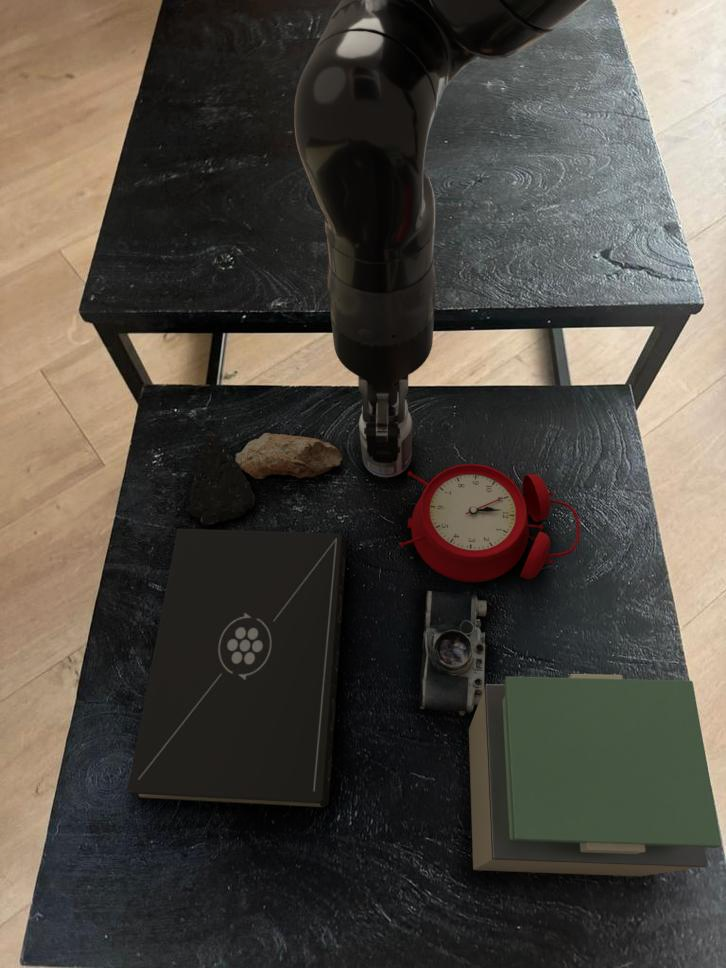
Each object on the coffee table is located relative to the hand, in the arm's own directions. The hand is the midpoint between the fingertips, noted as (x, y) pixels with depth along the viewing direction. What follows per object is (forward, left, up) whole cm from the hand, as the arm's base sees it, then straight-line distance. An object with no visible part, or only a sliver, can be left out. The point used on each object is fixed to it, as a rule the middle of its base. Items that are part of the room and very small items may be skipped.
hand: (385, 432), depth 69 cm
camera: (-6, +19, -5) cm, 20 cm away
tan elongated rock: (+9, 0, -4) cm, 10 cm away
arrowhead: (+15, +8, -4) cm, 17 cm away
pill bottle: (0, 0, -5) cm, 5 cm away
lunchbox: (-13, +30, +9) cm, 34 cm away
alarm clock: (-9, +8, -5) cm, 13 cm away
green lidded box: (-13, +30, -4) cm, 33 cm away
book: (+11, +20, -5) cm, 23 cm away
